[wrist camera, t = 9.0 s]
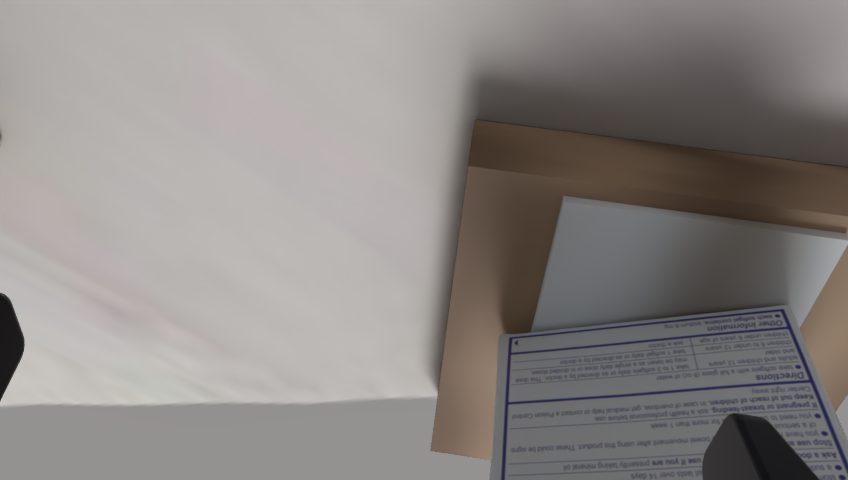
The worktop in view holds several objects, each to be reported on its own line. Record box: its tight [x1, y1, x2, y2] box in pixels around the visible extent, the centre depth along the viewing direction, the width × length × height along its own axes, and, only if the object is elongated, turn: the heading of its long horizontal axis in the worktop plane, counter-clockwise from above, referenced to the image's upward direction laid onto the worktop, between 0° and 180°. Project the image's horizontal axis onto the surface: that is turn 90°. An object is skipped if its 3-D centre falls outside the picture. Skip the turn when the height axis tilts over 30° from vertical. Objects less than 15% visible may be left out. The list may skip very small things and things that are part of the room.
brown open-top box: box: [431, 120, 848, 460], centre depth 22 cm, size 12×12×3 cm
